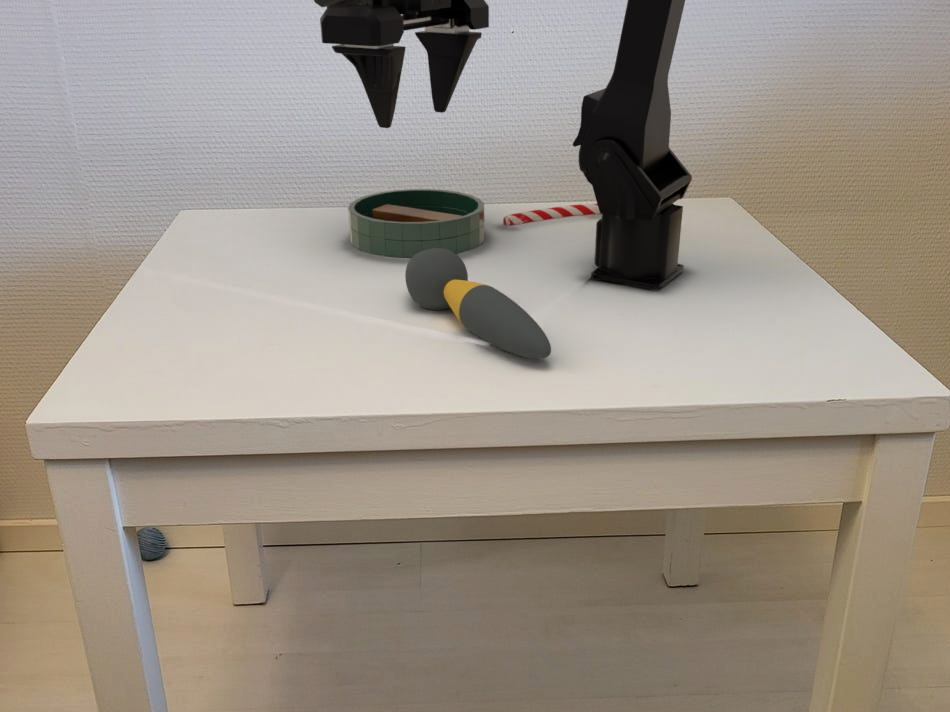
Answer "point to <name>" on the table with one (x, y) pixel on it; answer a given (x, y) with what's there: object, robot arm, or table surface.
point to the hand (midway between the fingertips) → (413, 119)
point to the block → (408, 214)
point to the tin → (417, 223)
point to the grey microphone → (473, 303)
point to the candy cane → (551, 213)
